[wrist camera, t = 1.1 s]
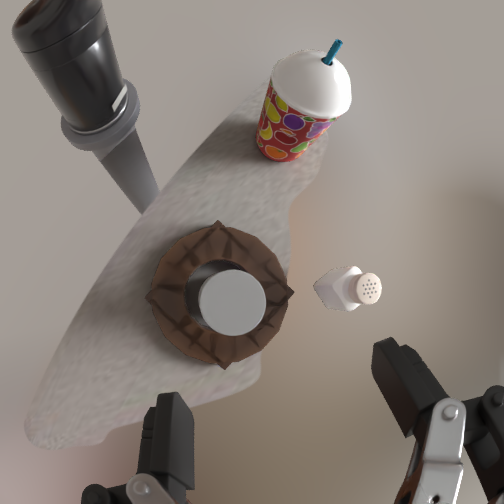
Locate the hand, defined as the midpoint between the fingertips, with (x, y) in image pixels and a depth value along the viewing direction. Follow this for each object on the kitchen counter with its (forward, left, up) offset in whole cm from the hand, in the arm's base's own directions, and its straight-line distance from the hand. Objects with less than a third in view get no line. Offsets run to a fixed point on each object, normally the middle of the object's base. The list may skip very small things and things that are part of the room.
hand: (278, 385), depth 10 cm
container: (-2, +1, -24) cm, 24 cm away
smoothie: (-10, +21, -24) cm, 34 cm away
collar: (-2, +1, -23) cm, 24 cm away
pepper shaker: (+8, +12, -24) cm, 27 cm away
